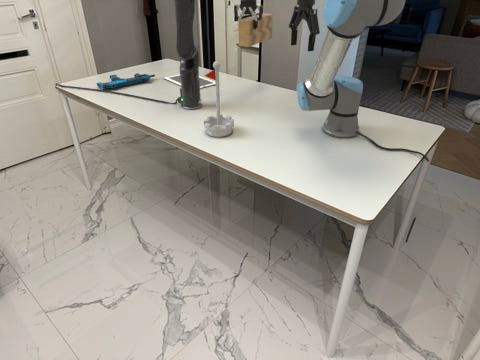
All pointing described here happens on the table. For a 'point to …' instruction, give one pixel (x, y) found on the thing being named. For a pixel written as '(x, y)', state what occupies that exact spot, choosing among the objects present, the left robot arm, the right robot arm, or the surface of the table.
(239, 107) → the table surface
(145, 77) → the submachine gun
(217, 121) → the flag stand
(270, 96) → the table surface
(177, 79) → the tablet
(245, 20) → the box
